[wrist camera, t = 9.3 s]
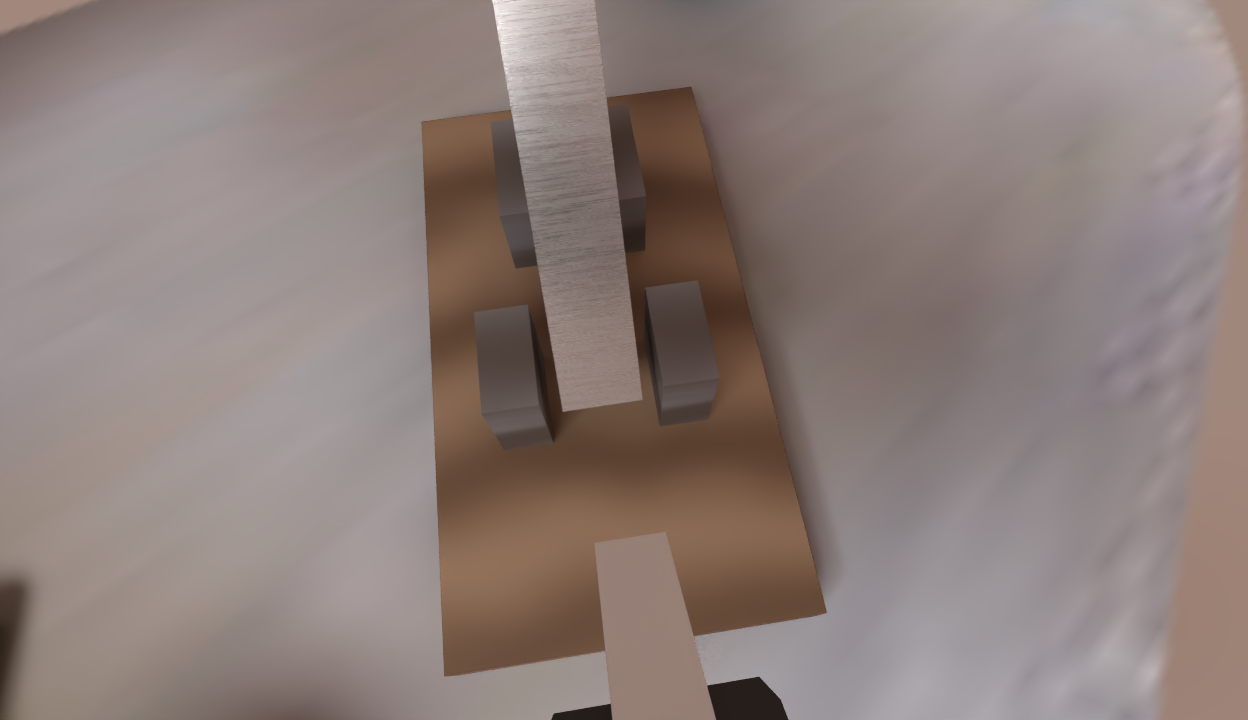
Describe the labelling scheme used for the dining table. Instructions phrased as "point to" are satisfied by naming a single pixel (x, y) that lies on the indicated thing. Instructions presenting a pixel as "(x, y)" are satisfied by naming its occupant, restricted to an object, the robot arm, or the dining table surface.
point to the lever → (571, 195)
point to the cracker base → (606, 435)
